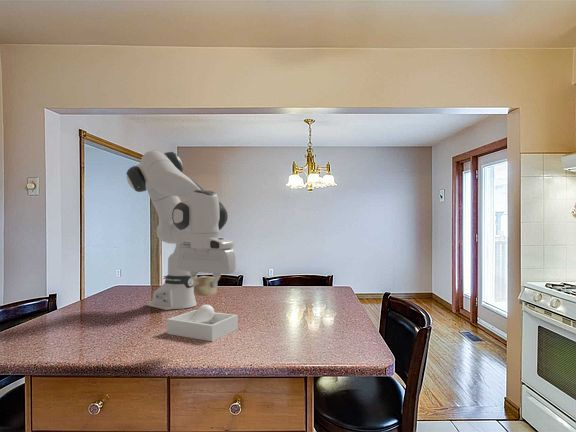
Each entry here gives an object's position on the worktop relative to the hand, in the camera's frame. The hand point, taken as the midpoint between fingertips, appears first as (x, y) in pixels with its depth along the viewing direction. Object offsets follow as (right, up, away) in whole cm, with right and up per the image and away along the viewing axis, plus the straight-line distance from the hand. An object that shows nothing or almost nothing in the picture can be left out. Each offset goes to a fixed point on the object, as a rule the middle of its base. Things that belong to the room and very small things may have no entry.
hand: (205, 286), depth 117 cm
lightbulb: (-9, -16, +14) cm, 23 cm away
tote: (-4, -18, +15) cm, 24 cm away
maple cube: (0, -2, 0) cm, 2 cm away
